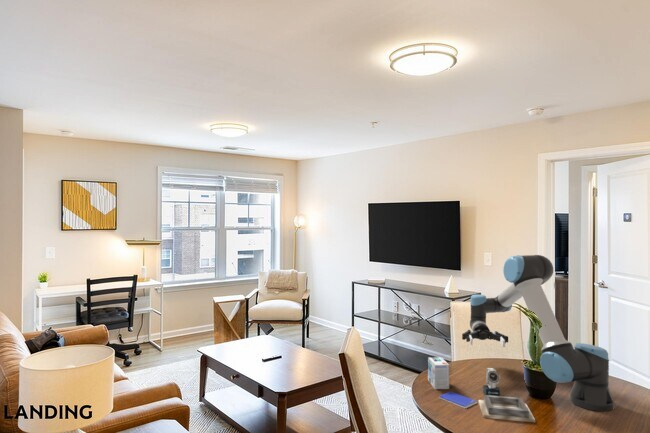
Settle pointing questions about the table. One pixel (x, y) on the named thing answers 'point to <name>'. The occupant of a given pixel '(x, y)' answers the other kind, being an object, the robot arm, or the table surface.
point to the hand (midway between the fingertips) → (487, 342)
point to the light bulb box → (438, 373)
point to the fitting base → (505, 408)
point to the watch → (491, 383)
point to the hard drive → (458, 399)
